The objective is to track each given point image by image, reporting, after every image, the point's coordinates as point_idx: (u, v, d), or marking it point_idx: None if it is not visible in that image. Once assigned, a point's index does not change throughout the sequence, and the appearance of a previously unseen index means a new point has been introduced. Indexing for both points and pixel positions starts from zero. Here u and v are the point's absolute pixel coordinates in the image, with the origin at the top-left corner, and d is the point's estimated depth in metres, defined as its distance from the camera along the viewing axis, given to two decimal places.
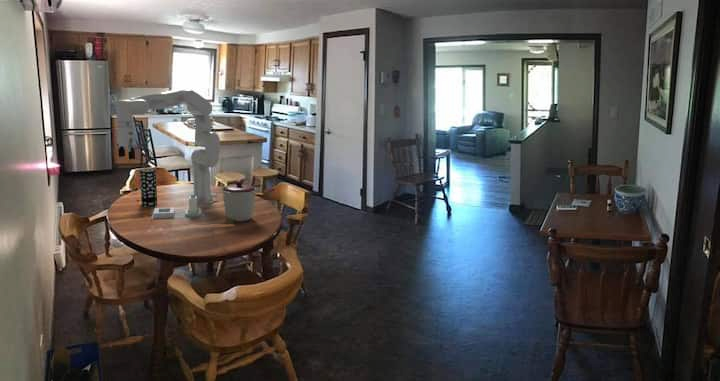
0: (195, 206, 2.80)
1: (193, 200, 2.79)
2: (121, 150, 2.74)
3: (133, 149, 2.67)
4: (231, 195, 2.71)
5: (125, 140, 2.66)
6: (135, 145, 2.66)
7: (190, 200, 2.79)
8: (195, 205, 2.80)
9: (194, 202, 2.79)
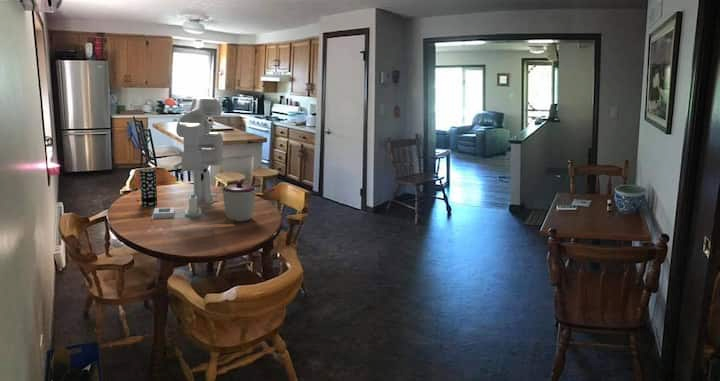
0: (195, 206, 2.80)
1: (193, 200, 2.79)
2: None
3: (205, 171, 2.80)
4: (231, 195, 2.71)
5: (199, 163, 2.76)
6: None
7: (190, 200, 2.79)
8: (195, 205, 2.80)
9: (194, 202, 2.79)
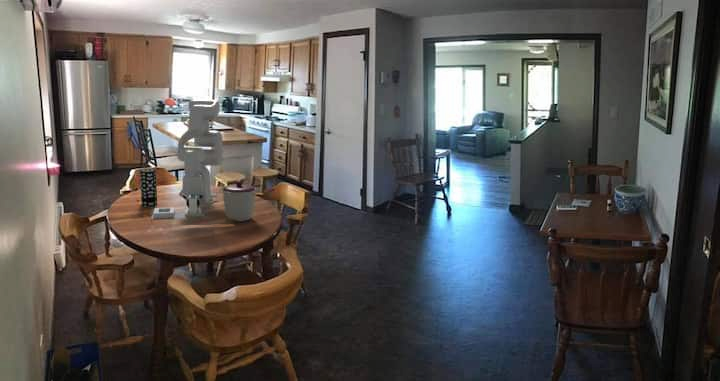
0: (195, 206, 2.80)
1: (193, 200, 2.79)
2: None
3: (201, 197, 2.83)
4: (231, 195, 2.71)
5: (199, 188, 2.79)
6: (205, 194, 2.83)
7: (190, 200, 2.79)
8: (195, 205, 2.80)
9: (194, 202, 2.79)
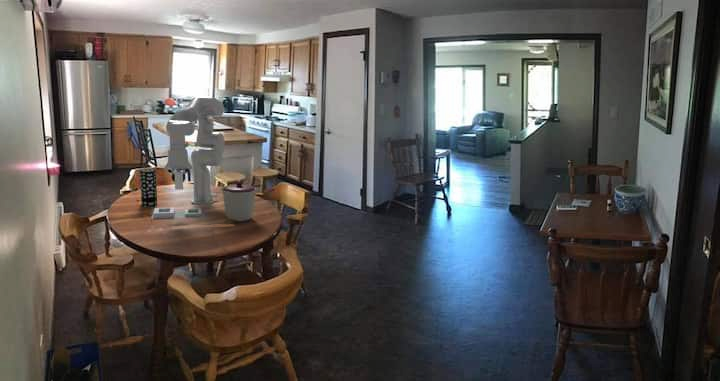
0: (181, 180, 2.75)
1: (179, 174, 2.74)
2: (174, 175, 2.76)
3: (187, 171, 2.78)
4: (231, 195, 2.71)
5: (185, 161, 2.74)
6: (190, 168, 2.78)
7: (176, 174, 2.73)
8: (181, 179, 2.75)
9: (180, 176, 2.74)
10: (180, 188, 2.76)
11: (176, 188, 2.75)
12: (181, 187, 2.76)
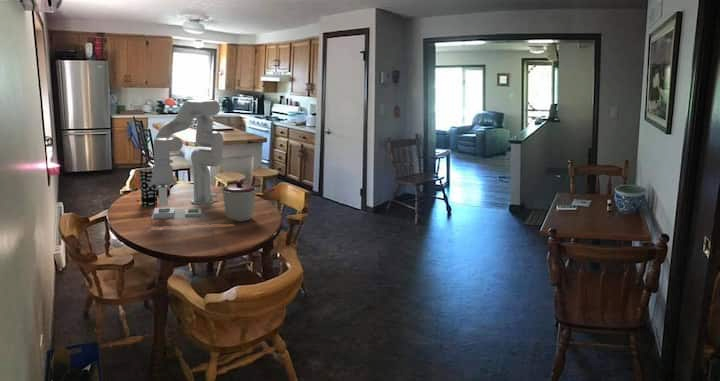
0: (165, 196, 2.74)
1: (163, 189, 2.73)
2: None
3: None
4: (231, 195, 2.71)
5: (169, 177, 2.74)
6: (175, 184, 2.78)
7: (160, 189, 2.73)
8: (165, 195, 2.74)
9: (164, 192, 2.74)
10: (164, 204, 2.75)
11: (160, 204, 2.74)
12: (165, 203, 2.75)
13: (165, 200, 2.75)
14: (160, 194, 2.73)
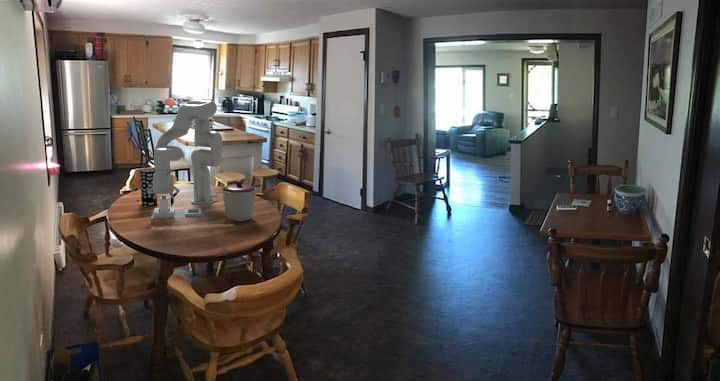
0: (166, 207, 2.76)
1: (164, 201, 2.75)
2: (156, 199, 2.76)
3: (175, 195, 2.79)
4: (231, 195, 2.71)
5: (170, 187, 2.75)
6: (178, 191, 2.79)
7: (161, 201, 2.74)
8: (166, 206, 2.76)
9: (165, 203, 2.75)
10: None
11: None
12: None
13: (166, 211, 2.76)
14: (161, 205, 2.75)
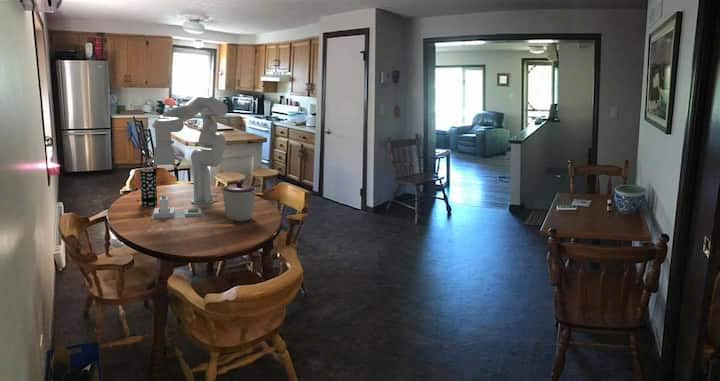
0: (166, 207, 2.76)
1: (164, 201, 2.75)
2: None
3: None
4: (231, 195, 2.71)
5: (171, 158, 2.76)
6: (181, 161, 2.81)
7: (161, 201, 2.74)
8: (166, 206, 2.76)
9: (165, 203, 2.75)
10: None
11: None
12: None
13: (166, 211, 2.76)
14: (161, 205, 2.75)
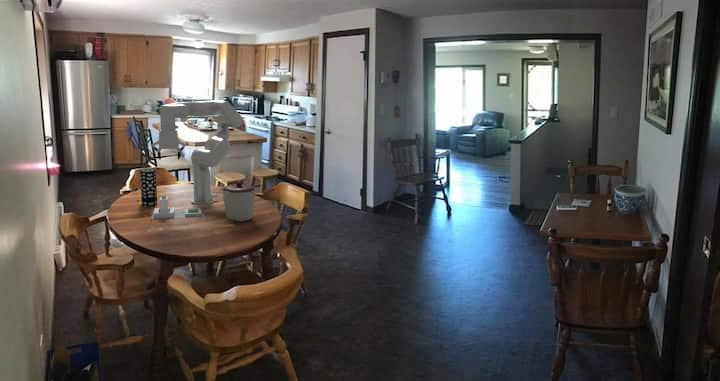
0: (166, 207, 2.76)
1: (164, 201, 2.75)
2: (160, 153, 2.87)
3: (182, 149, 2.90)
4: (231, 195, 2.71)
5: (175, 142, 2.87)
6: None
7: (161, 201, 2.74)
8: (166, 206, 2.76)
9: (165, 203, 2.75)
10: None
11: None
12: None
13: (166, 211, 2.76)
14: (161, 205, 2.75)
